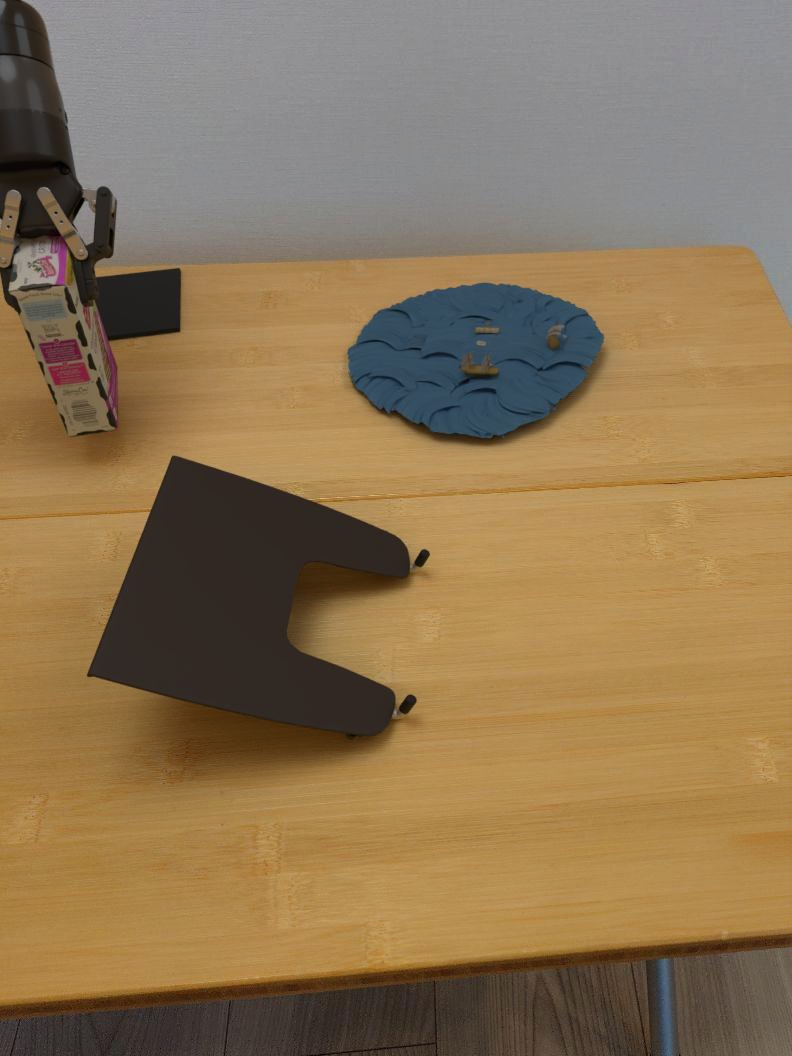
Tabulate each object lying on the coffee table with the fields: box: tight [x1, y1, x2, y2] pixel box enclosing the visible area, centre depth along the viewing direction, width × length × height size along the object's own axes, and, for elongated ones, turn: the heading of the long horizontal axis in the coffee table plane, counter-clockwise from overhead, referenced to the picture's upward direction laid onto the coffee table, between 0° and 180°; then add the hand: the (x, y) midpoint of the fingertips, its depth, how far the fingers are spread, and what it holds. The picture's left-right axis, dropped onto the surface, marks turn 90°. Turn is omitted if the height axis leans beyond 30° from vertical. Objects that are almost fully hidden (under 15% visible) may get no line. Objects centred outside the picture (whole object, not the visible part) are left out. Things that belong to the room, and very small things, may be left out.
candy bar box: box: [9, 235, 119, 438], centre depth 91 cm, size 11×5×16 cm, turn 17°
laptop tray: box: [86, 455, 431, 741], centre depth 78 cm, size 23×23×9 cm
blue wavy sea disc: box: [347, 282, 605, 439], centre depth 107 cm, size 30×30×5 cm
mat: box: [95, 267, 182, 341], centre depth 116 cm, size 12×14×1 cm
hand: (54, 307), depth 87 cm, fingers closed on candy bar box, 5 cm apart
